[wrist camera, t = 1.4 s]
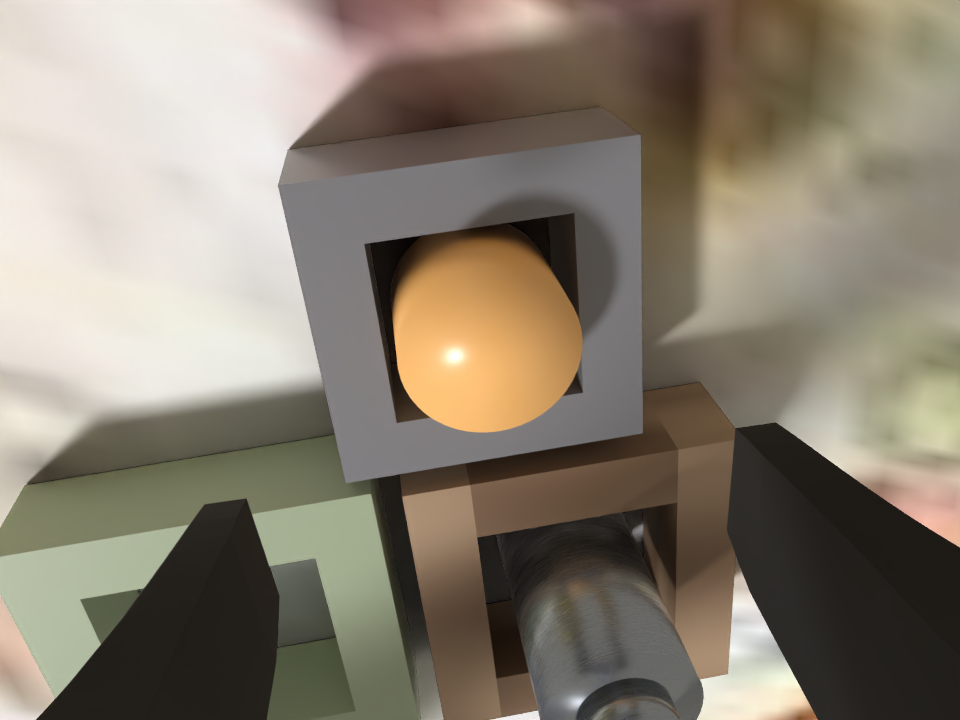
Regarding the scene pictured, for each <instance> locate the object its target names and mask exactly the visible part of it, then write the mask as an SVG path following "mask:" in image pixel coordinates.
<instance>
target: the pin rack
mask: <svg viewBox="0 0 960 720" xmlns="http://www.w3.org/2000/svg"><path fill="white" fill-rule="evenodd" d="M245 498H247V501H248V504H249V507H250V510H251V513H252V516H253V519H254V522H255V525H256V528H257V531H258V534H259V537H260V540H261V543H262V546H263V549H264V552H265V555H266V558H267V561H268V564H269V566H275V565H280V564H286V563H292V562H297V561H303V560H309V559H316V563H317V567H318V570H319V574H320V578H321V582H322V586H323V589H324V593H325V597H326V601H327V604H328V608H329V612H330V616H331V619H332V623H333V627H334V631H335V635H336V637H335V638H330V639H324V640H319V641H313V642H308V643H302V644H297V645H291V646H286V647H280V648H277V658H276V667H275V673H274V679H273V685H272V691H271V697H270V703H269V709H268V715H267V720H421V716H420V705H419V694H418V683H417V671H416V661H415V656H414V651H413V646H412V641H411V636H410V631H409V626H408V621H407V616H406V611H405V606H404V601H403V597H402V592H401V587H400V582H399V577H398V572H397V567H396V562H395V557H394V552H393V547H392V542H391V537H390V532H389V527H388V523H387V518H386V513H385V508H384V503H383V498H382V493H381V488H380V483H379V478H374V479H368V480H363V481H357V482H351V483H346V481H345V477H344V473H343V468H342V464H341V459H340V455H339V451H338V446H337V442H336V437H335V435H330V436H324V437H318V438H312V439H306V440H300V441H294V442H288V443H281V444H275V445H269V446H263V447H257V448H251V449H245V450H239V451H232V452H226V453H220V454H214V455H208V456H202V457H196V458H190V459H184V460H177V461H171V462H165V463H159V464H153V465H147V466H141V467H135V468H129V469H122V470H116V471H110V472H104V473H98V474H92V475H86V476H80V477H73V478H67V479H61V480H55V481H49V482H43V483H37V484H31V485H25V486H24V488H23V490H22V491H21V493H20V495H19V496H18V498H17V500H16V502H15V503H14V505H13V507H12V509H11V510H10V512H9V514H8V516H7V517H6V519H5V521H4V522H3V524H2V526H1V528H0V595H1V597H2V599H3V601H4V603H5V604H6V606H7V608H8V610H9V612H10V614H11V616H12V618H13V620H14V621H15V623H16V625H17V627H18V629H19V631H20V633H21V635H22V637H23V639H24V640H25V642H26V644H27V646H28V648H29V650H30V652H31V654H32V656H33V657H34V659H35V661H36V663H37V665H38V667H39V669H40V671H41V673H42V675H43V676H44V678H45V680H46V682H47V684H48V686H49V688H50V690H51V692H52V693H53V695H54V697H55V699H56V697H57V696H58V695H59V694H60V693H61V692H62V691H63V689H64V688H65V687H66V686H67V685H68V684H69V683H70V681H71V680H72V679H73V678H74V677H75V675H76V674H77V673H78V672H79V670H80V669H81V668H82V667H83V666H84V664H85V663H86V662H87V661H88V660H89V658H90V657H91V656H92V655H93V653H94V652H95V651H96V650H97V649H98V647H99V646H100V645H101V644H102V642H103V641H104V640H105V639H106V638H107V636H108V635H109V634H110V633H111V631H112V630H113V629H114V627H115V626H116V625H117V624H118V622H119V621H120V620H121V618H122V617H123V616H124V614H125V613H126V612H127V610H128V609H129V608H130V606H131V605H132V604H133V602H134V601H135V600H136V598H137V597H138V596H139V592H138V590H137V589H143V588H145V586H146V585H147V584H148V582H149V581H150V579H151V578H152V577H153V575H154V574H155V572H156V571H157V570H158V568H159V567H160V566H161V564H162V563H163V561H164V560H165V559H166V557H167V556H168V554H169V553H170V551H171V550H172V549H173V547H174V546H175V544H176V543H177V541H178V540H179V539H180V537H181V536H182V534H183V533H184V532H185V530H186V529H187V527H188V526H189V524H190V523H191V522H192V520H193V519H194V518H195V516H196V515H197V513H198V512H199V511H200V509H201V508H202V507H203V506H204V504H210V503H217V502H224V501H231V500H238V499H245Z"/></svg>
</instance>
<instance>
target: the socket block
mask: <svg viewBox="0 0 960 720" xmlns="http://www.w3.org/2000/svg"><path fill="white" fill-rule="evenodd" d="M734 438H735V427H734V426H733V425H732V423H731V422H730V421H729V419H728V418H727V417H726V416H725V414H724V413H723V412H722V410H721V409H720V408H719V406H718V405H717V404H716V402H715V401H714V400H713V398H712V397H711V396H710V395H709V393H708V392H707V391H706V389H705V388H704V387H703V385H702V384H701V383H700V382H699V383H693V384H687V385H681V386H675V387H669V388H662V389H656V390H650V391H644V392H643V433H642V434H636V435H630V436H624V437H618V438H612V439H606V440H601V441H595V442H589V443H583V444H577V445H571V446H565V447H559V448H553V449H547V450H541V451H535V452H529V453H523V454H517V455H511V456H505V457H499V458H493V459H487V460H482V461H476V462H470V463H464V464H458V465H452V466H446V467H440V468H434V469H428V470H422V471H416V472H410V473H404V474H400V480H401V491H402V499H403V504H404V510H405V515H406V520H407V526H408V531H409V536H410V542H411V547H412V552H413V558H414V563H415V568H416V574H417V579H418V584H419V590H420V595H421V600H422V606H423V611H424V616H425V621H426V627H427V632H428V637H429V643H430V648H431V653H432V659H433V664H434V669H435V675H436V680H437V685H438V691H439V696H440V701H441V707H442V712H443V717H444V720H490V719H496V718H501V717H506V716H511V715H516V714H522V713H527V712H532V711H537V710H538V708H537V704H536V699H535V695H534V691H533V687H532V683H531V679H530V675H529V670H528V666H527V662H526V658H525V654H524V650H523V645H522V641H521V637H520V633H519V629H518V625H517V621H516V616H515V612H514V608H513V604H512V600H508V601H503V602H497V603H492V604H486V599H485V591H484V584H483V577H482V569H481V562H480V555H479V547H478V540H477V538H478V537H483V536H489V535H495V534H500V533H506V532H512V531H518V530H523V529H529V528H535V527H540V526H546V525H552V524H558V523H563V522H569V521H575V520H580V519H586V518H592V517H598V516H603V515H609V514H615V513H620V512H626V511H632V510H638V509H643V550H644V561H645V563H646V565H647V567H648V569H649V572H650V574H651V576H652V578H653V580H654V582H655V584H656V587H657V589H658V591H659V593H660V595H661V597H662V600H663V602H664V604H665V606H666V608H667V610H668V613H669V615H670V617H671V619H672V621H673V623H674V625H675V628H676V630H677V632H678V634H679V636H680V638H681V641H682V643H683V645H684V647H685V649H686V651H687V653H688V656H689V658H690V660H691V662H692V664H693V666H694V669H695V671H696V673H697V675H698V677H699V679H704V678H709V677H714V676H720V675H725V674H728V664H729V649H730V633H731V618H732V602H733V587H734V572H735V556H736V554H735V552H734V549H733V546H732V543H731V541H730V538H729V535H728V532H727V522H728V510H729V498H730V486H731V474H732V462H733V450H734Z"/></svg>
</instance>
